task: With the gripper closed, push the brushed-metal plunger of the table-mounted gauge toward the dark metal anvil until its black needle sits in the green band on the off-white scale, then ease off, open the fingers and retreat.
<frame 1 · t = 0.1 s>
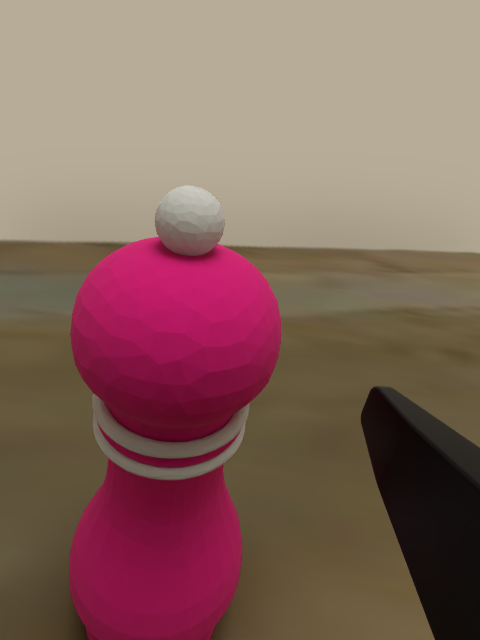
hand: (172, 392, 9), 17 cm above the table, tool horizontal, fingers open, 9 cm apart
pepper mill: (153, 606, 20), on the table
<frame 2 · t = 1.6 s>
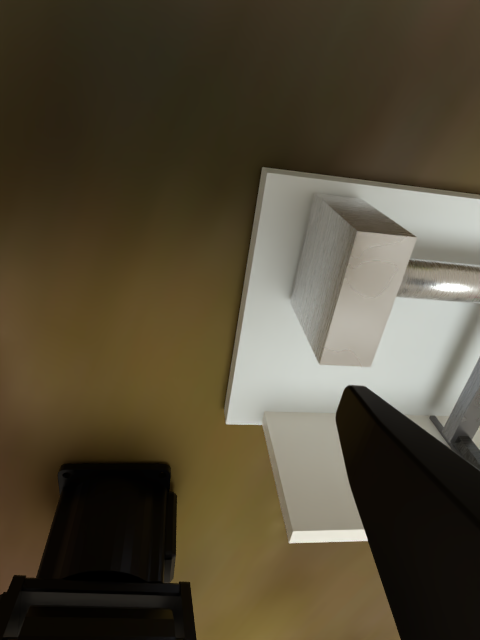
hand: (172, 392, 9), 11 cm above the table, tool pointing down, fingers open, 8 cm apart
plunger: (436, 359, 18), point 4 cm above the table, slide at 0.0 cm
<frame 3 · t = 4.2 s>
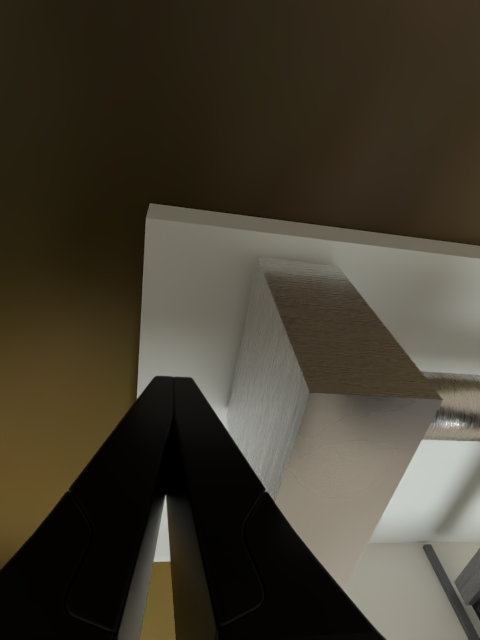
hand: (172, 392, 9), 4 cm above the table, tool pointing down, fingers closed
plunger: (456, 525, 11), point 5 cm above the table, slide at 0.6 cm, touching gripper
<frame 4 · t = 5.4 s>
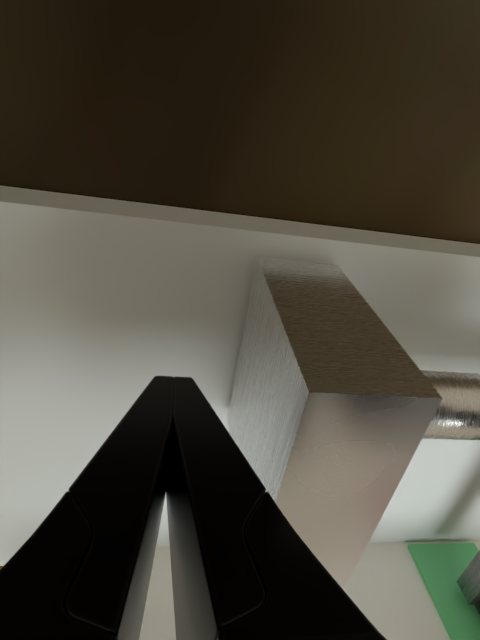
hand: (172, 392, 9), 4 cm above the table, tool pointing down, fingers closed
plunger: (457, 524, 11), point 5 cm above the table, slide at 6.0 cm, touching gripper
gauge base: (360, 326, 13), on the table
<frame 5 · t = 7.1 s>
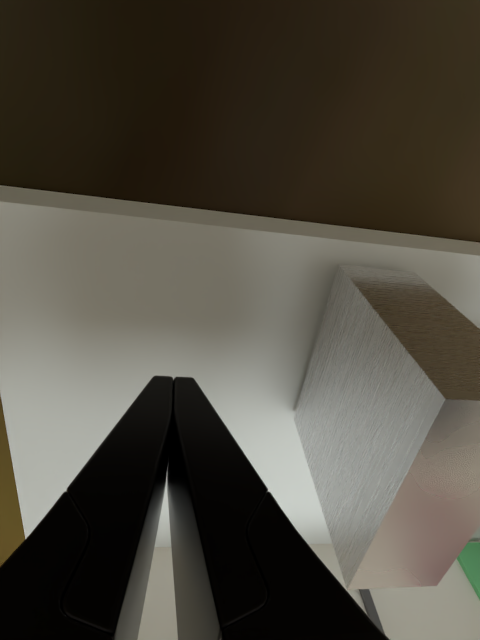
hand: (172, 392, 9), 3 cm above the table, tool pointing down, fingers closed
gauge base: (416, 330, 13), on the table
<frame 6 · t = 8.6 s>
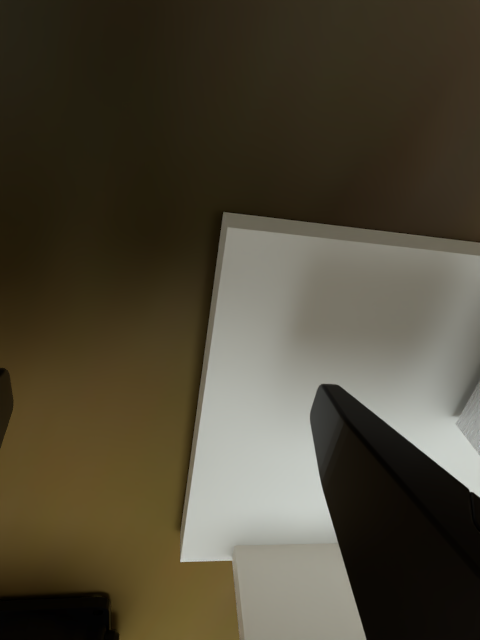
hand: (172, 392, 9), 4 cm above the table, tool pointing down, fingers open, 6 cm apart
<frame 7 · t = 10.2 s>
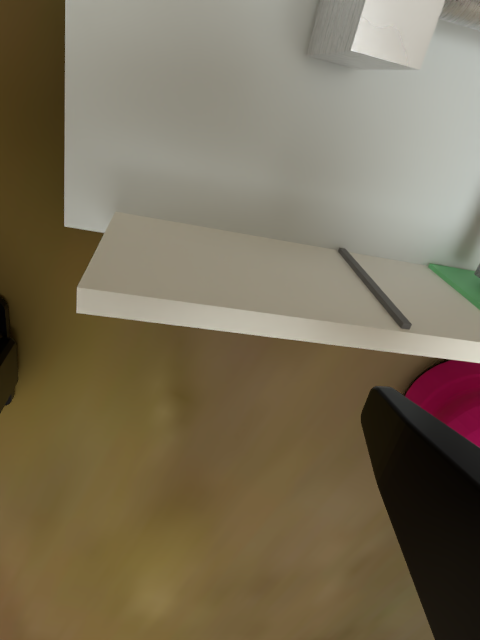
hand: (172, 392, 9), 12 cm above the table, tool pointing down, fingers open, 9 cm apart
gauge base: (411, 5, 16), on the table
pepper mill: (447, 394, 27), on the table
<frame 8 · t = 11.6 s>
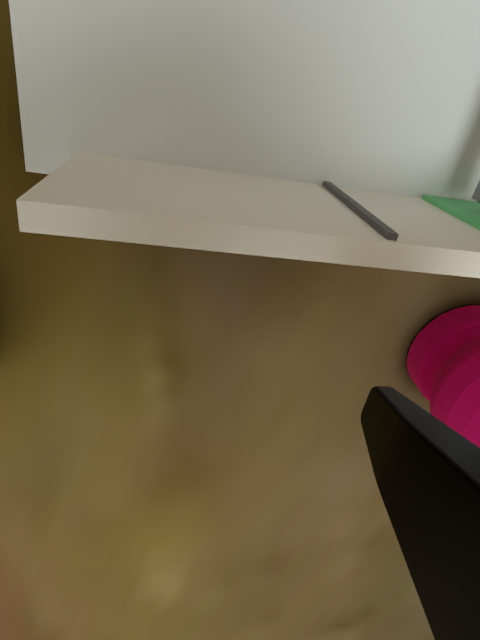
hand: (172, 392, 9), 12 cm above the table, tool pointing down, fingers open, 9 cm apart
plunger: (478, 7, 12), point 5 cm above the table, slide at 6.2 cm
pepper mill: (454, 347, 25), on the table
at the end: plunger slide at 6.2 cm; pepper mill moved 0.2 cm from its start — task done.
